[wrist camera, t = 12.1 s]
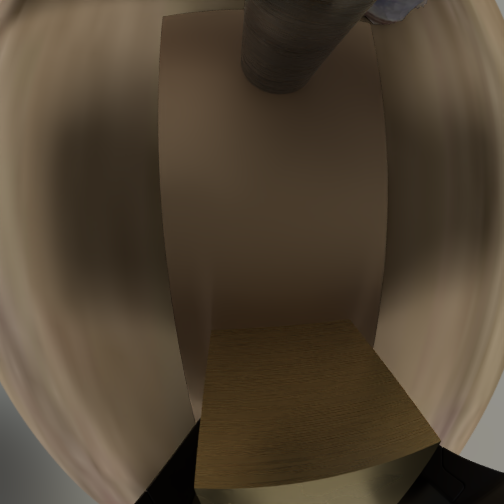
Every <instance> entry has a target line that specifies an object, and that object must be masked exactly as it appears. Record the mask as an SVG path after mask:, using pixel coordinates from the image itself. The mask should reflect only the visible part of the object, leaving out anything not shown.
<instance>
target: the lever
mask: <svg viewBox="0 0 504 504" xmlns="http://www.w3.org/2000/svg"><path fill="white" fill-rule="evenodd" d="M376 1H377V0H245V7H244V20H243V33H242V47H241V68H242V71H243V73H244V75H245V77H246V78H247V80H248V81H249V82H250V83H251V84H252V85H254V86H255V87H257V88H258V89H260V90H262V91H265V92H268V93H273V94H288V93H292V92H295V91H297V90H299V89H301V88H302V87H303V86H304V85H305V84H306V83H307V82H308V81H309V80H310V78H311V77H312V76H313V75H314V73H315V72H316V71H317V70H318V69H319V67H320V66H321V65H322V64H323V62H324V61H325V60H326V59H327V57H328V56H329V55H330V54H331V53H332V51H333V50H334V49H335V48H336V47H337V45H338V44H339V43H340V42H341V41H342V40H343V38H344V37H345V36H346V35H347V34H348V33H349V31H350V30H351V29H352V28H353V27H354V26H355V24H356V23H357V22H358V21H359V20H360V19H361V18H362V17H363V15H364V14H365V13H366V12H367V11H368V10H369V9H370V8H371V7H372V5H373V4H374V3H375V2H376Z"/></svg>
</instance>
